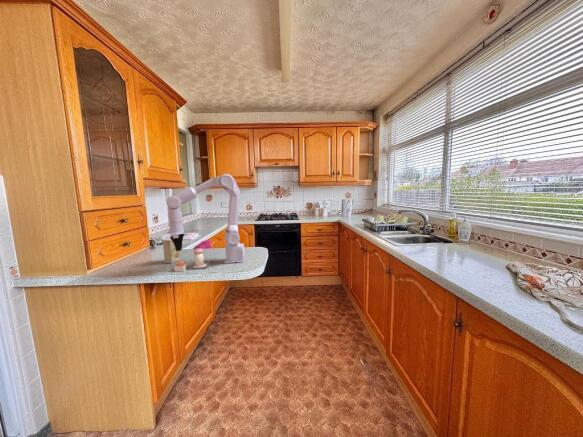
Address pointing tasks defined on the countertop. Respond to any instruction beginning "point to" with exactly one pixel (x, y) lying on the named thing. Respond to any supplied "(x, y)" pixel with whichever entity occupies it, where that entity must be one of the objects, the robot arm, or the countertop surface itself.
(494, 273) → the countertop surface
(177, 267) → the button housing
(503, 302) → the countertop surface
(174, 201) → the robot arm
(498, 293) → the countertop surface
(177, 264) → the button
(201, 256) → the rose marker
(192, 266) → the picture board
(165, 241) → the skincare box
